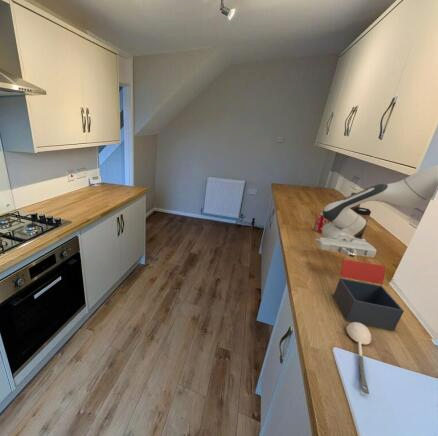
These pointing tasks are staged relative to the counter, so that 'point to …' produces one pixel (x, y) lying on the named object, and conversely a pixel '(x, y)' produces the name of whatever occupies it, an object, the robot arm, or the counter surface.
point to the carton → (367, 304)
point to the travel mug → (362, 215)
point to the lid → (363, 271)
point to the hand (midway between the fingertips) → (351, 255)
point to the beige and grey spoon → (360, 346)
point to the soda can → (320, 223)
